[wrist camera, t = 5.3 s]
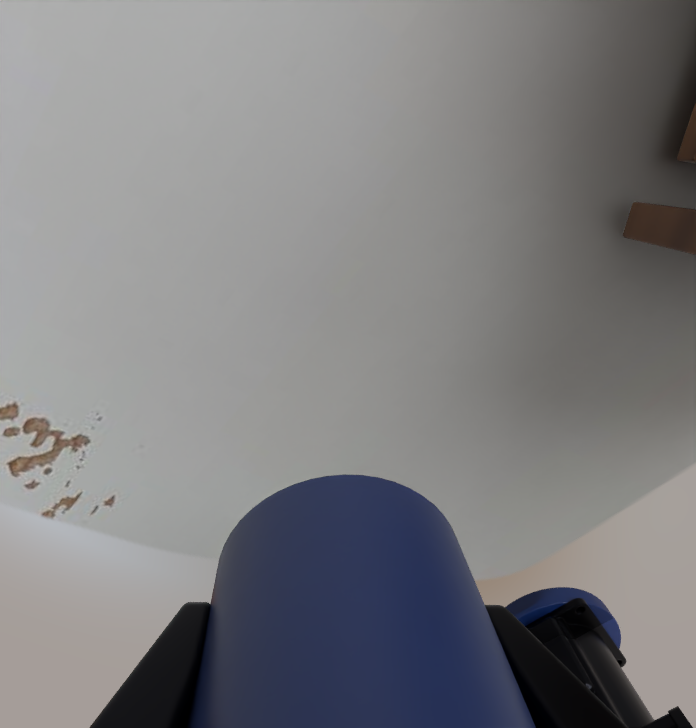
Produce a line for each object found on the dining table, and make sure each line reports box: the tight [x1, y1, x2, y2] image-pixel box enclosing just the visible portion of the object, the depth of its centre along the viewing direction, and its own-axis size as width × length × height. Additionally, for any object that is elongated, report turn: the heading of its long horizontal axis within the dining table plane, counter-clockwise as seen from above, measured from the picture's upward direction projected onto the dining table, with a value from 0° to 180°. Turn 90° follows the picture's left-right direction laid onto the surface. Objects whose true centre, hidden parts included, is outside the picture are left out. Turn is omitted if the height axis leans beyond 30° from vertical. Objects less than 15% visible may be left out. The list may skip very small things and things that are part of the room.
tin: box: [187, 475, 536, 728], centre depth 7 cm, size 5×5×6 cm
